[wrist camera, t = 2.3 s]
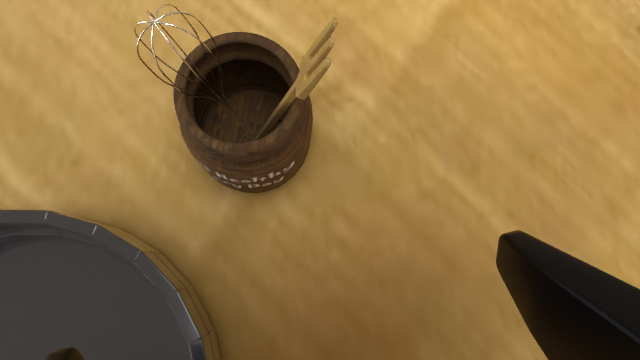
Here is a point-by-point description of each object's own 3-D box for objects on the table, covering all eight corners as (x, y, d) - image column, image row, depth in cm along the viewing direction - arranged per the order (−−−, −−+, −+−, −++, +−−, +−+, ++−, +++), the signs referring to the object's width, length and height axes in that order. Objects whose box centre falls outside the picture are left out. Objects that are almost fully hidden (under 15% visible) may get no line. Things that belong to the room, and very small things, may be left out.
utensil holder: (210, 80, 25) (133, -91, 13) (323, 99, 25) (350, -52, 13) (187, 185, 23) (79, 102, 12) (306, 204, 24) (318, 142, 12)
